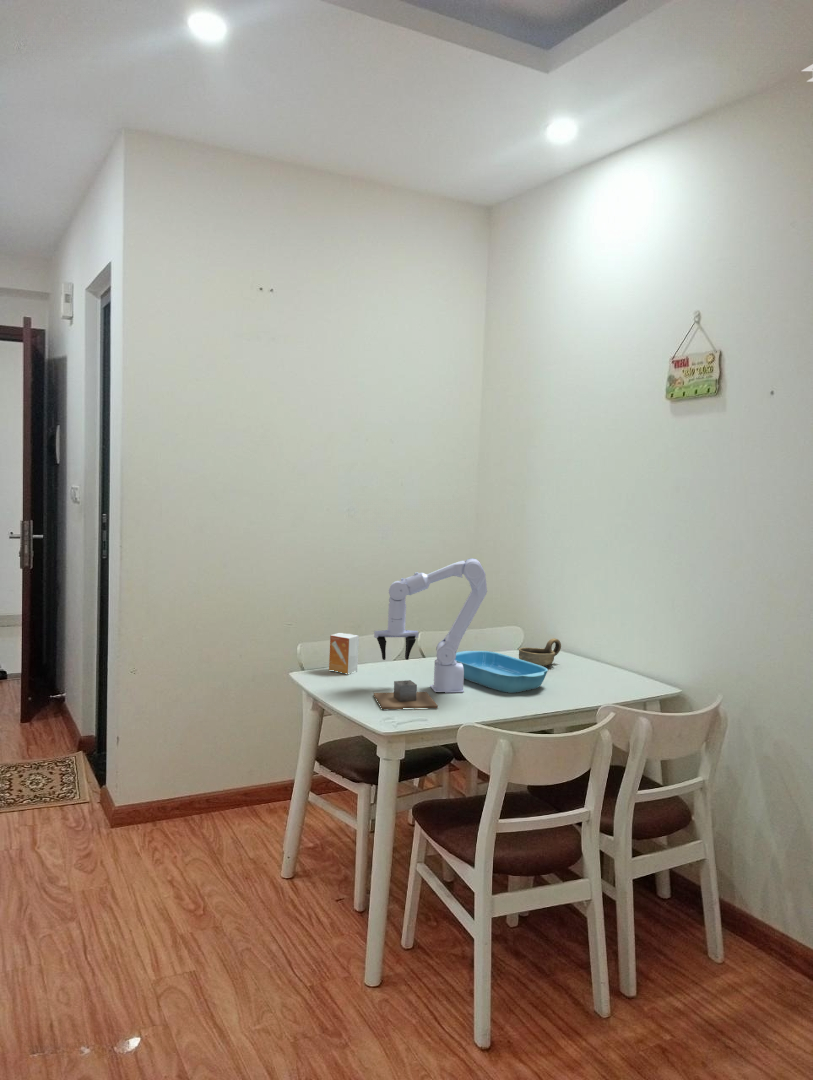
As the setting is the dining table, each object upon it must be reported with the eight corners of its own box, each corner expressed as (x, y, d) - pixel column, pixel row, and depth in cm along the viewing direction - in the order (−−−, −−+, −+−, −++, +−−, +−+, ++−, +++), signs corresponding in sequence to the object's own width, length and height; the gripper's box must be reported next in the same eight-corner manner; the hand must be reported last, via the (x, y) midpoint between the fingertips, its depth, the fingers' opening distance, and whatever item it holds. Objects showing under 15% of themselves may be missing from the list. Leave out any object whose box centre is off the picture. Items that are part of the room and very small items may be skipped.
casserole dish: (559, 689, 271) (560, 669, 271) (513, 700, 257) (515, 678, 257) (482, 666, 300) (483, 647, 299) (437, 674, 286) (438, 654, 285)
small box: (328, 671, 282) (329, 634, 281) (338, 668, 288) (340, 632, 286) (347, 675, 278) (349, 638, 277) (357, 671, 284) (359, 635, 283)
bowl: (510, 662, 306) (511, 636, 306) (548, 659, 314) (550, 634, 313) (529, 671, 294) (531, 644, 293) (569, 668, 301) (571, 642, 300)
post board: (426, 694, 258) (426, 681, 258) (437, 708, 243) (438, 694, 243) (373, 695, 254) (374, 681, 254) (382, 710, 240) (382, 695, 239)
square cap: (409, 695, 253) (410, 680, 252) (416, 700, 248) (416, 684, 247) (393, 697, 251) (394, 681, 250) (399, 701, 246) (400, 685, 245)
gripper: (415, 615, 269) (414, 655, 270) (372, 615, 266) (371, 656, 267) (420, 619, 262) (418, 661, 263) (376, 619, 259) (375, 661, 260)
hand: (395, 659), depth 265 cm, fingers open, 7 cm apart
